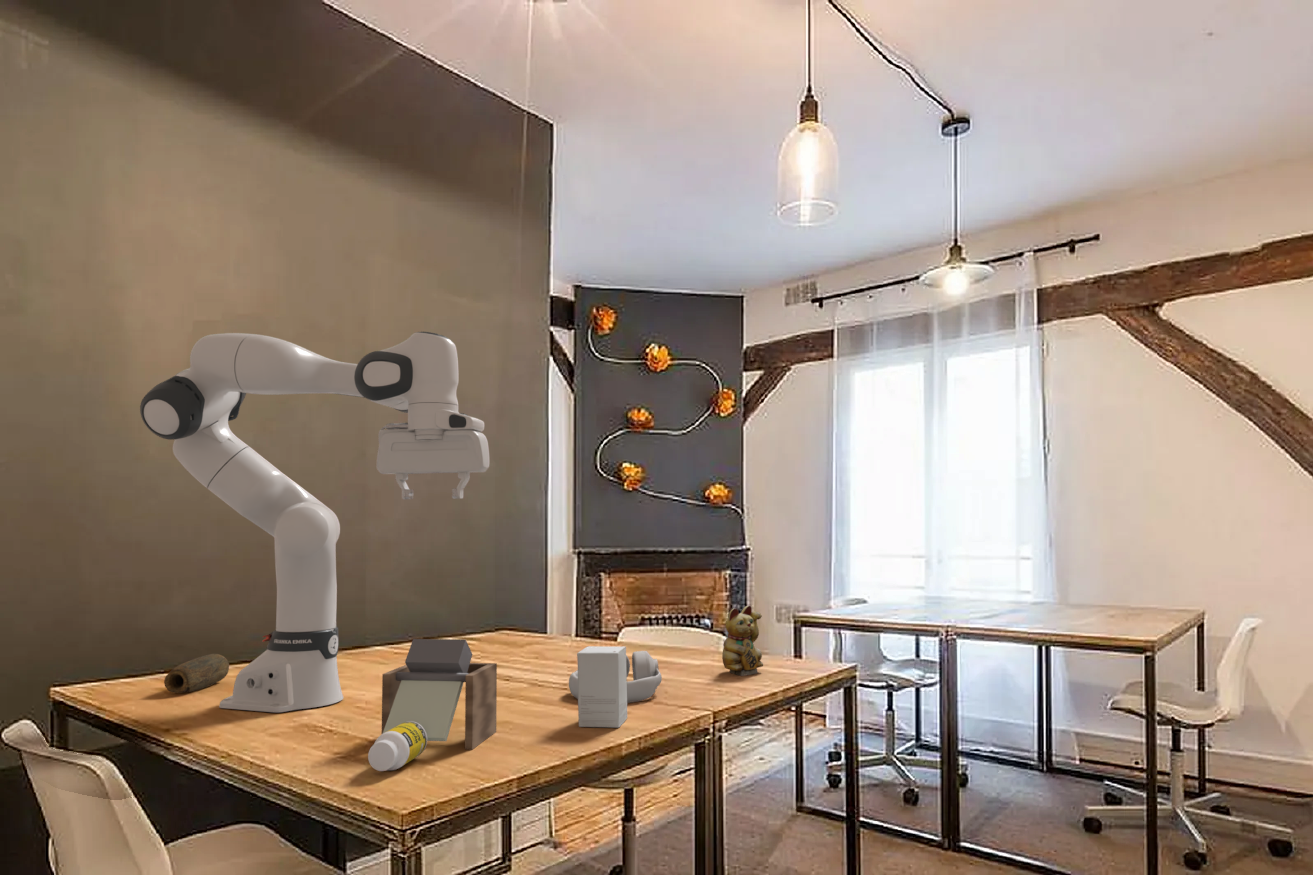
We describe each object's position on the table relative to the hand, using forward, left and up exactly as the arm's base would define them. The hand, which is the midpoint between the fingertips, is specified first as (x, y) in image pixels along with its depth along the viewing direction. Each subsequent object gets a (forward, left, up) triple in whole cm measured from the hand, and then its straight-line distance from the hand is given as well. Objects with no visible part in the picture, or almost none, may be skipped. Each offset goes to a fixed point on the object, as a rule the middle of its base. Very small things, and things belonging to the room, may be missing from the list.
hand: (432, 499), depth 153 cm
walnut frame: (+6, -10, -39) cm, 41 cm away
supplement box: (+30, +4, -39) cm, 50 cm away
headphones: (+28, +28, -40) cm, 56 cm away
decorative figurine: (+51, +53, -39) cm, 83 cm away
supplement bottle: (+6, -20, -36) cm, 42 cm away
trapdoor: (+6, -13, -32) cm, 35 cm away
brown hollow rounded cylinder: (-63, +25, -40) cm, 79 cm away
